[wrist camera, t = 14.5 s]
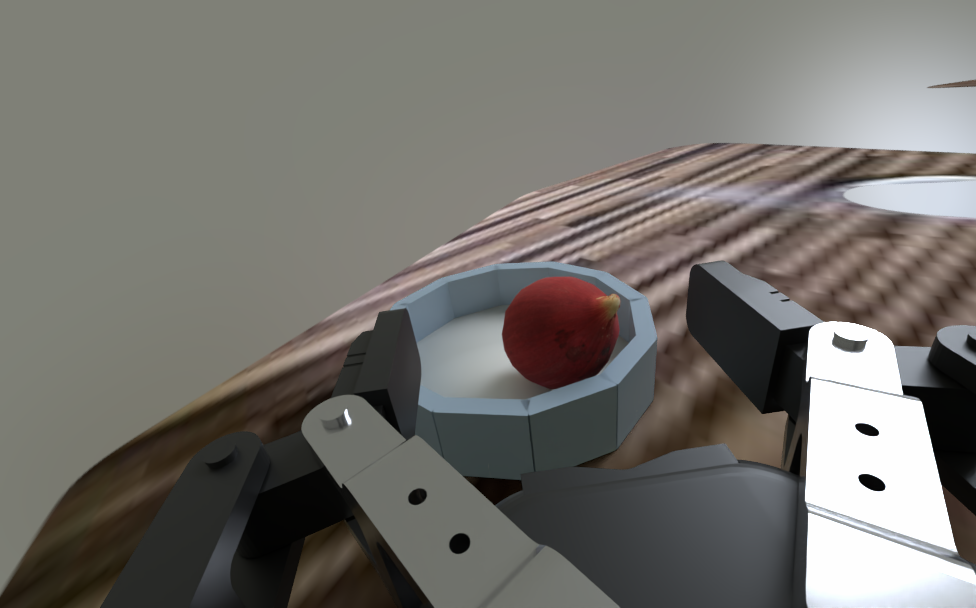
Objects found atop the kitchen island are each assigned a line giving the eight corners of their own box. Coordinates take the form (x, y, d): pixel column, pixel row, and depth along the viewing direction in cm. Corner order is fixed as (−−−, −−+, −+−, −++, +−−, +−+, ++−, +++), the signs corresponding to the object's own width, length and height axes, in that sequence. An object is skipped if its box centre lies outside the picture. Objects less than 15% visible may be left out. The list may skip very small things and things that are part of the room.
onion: (567, 389, 27) (678, 361, 20) (489, 406, 24) (589, 380, 17) (544, 299, 28) (641, 247, 22) (466, 305, 25) (552, 245, 19)
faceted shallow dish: (567, 291, 36) (565, 246, 34) (715, 411, 22) (725, 347, 21) (374, 346, 32) (360, 298, 31) (411, 529, 19) (390, 463, 17)
